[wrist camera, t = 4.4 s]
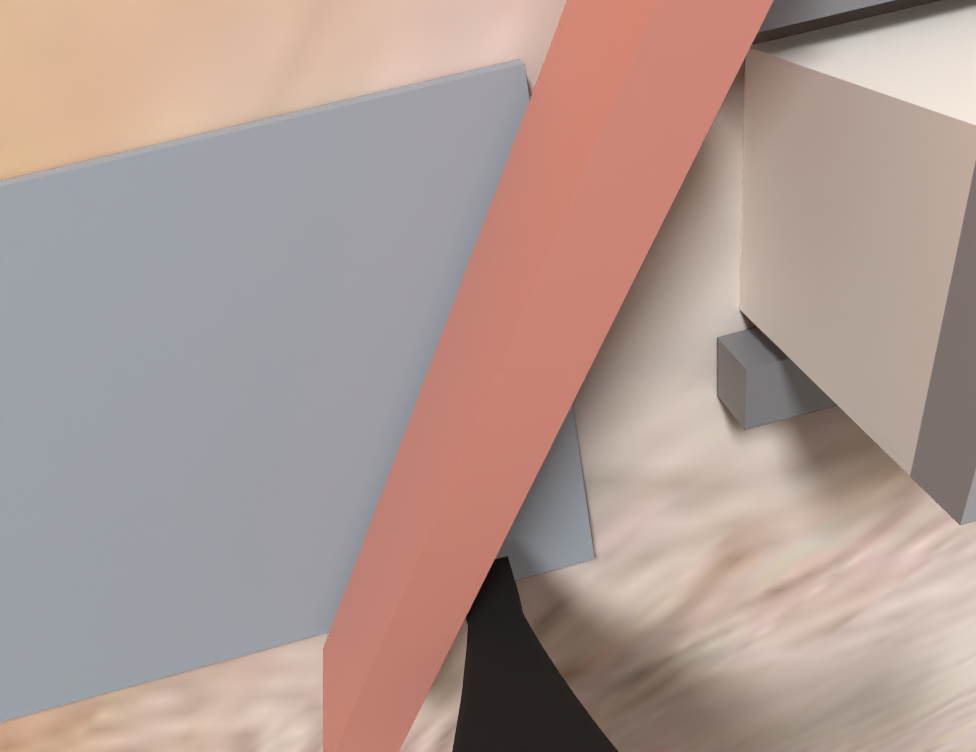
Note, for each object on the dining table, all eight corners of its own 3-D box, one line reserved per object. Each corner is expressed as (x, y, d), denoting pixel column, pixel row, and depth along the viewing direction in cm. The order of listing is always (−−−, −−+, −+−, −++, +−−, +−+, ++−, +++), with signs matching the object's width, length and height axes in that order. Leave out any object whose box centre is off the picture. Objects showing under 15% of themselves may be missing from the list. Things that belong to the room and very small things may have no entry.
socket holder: (1184, -195, 9) (1272, -205, 8) (1038, 310, 13) (1086, 338, 12) (717, -89, 9) (760, -88, 8) (717, 395, 13) (744, 430, 12)
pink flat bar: (749, -230, 8) (944, -290, 5) (384, 626, 14) (397, 779, 12) (640, -296, 7) (797, -396, 5) (313, 620, 14) (310, 778, 11)
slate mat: (518, 59, 9) (524, 63, 9) (589, 547, 14) (594, 559, 14) (-486, 295, 8) (-512, 307, 8) (-34, 718, 13) (-40, 733, 13)
